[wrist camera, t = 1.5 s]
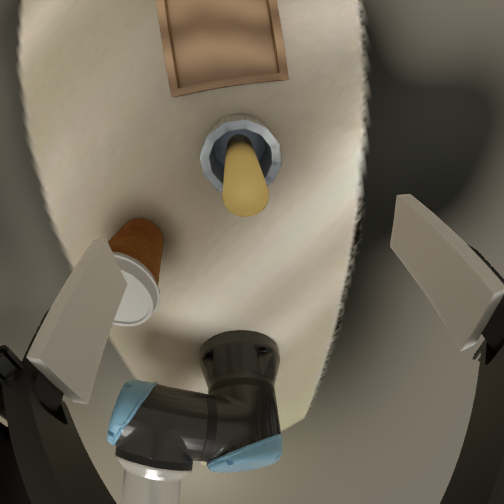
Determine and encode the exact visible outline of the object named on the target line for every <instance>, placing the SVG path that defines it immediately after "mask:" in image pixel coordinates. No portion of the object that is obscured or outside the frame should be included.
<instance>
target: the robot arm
mask: <svg viewBox="0 0 504 504" xmlns="http://www.w3.org/2000/svg"><path fill="white" fill-rule="evenodd" d="M390 247H391V248H392V250H393V251H394V252H395V253H396V255H397V256H398V257H399V259H400V260H401V261H402V263H403V264H404V265H405V266H406V268H407V269H408V271H409V272H410V274H411V275H412V276H413V278H414V279H415V281H416V282H417V283H418V285H419V286H420V288H421V289H422V290H423V292H424V293H425V295H426V296H427V298H428V299H429V301H430V302H431V304H432V305H433V307H434V308H435V310H436V311H437V313H438V314H439V316H440V317H441V319H442V321H443V322H444V324H445V325H446V327H447V329H448V330H449V332H450V334H451V335H452V337H453V339H454V340H455V342H456V344H457V345H458V347H459V349H460V351H462V350H464V349H466V348H469V347H471V346H473V345H475V343H476V341H477V340H478V338H479V337H480V335H481V334H482V335H483V336H484V338H485V340H484V341H483V343H482V344H481V346H480V347H479V349H478V350H477V351H476V353H475V354H474V357H473V359H476V358H477V356H478V355H479V354H480V353H481V357H480V358H479V361H480V366H479V374H478V381H477V387H476V393H475V398H474V403H473V408H472V413H471V417H470V421H469V425H468V429H467V432H466V436H465V440H464V443H463V446H462V449H461V452H460V455H459V459H458V461H457V464H456V467H455V470H454V472H453V475H452V477H451V480H450V482H449V485H448V487H447V490H446V492H445V494H444V496H443V498H442V500H441V503H440V504H504V279H503V278H502V277H501V276H500V275H499V273H498V272H497V271H496V270H495V269H494V268H493V267H491V265H490V263H489V262H488V261H487V260H485V259H484V257H483V256H482V255H481V254H480V253H479V252H478V251H477V250H476V249H474V248H473V247H471V246H469V245H468V244H466V243H465V242H464V241H463V240H462V239H461V238H460V237H459V236H458V235H457V234H456V233H454V232H453V231H452V230H451V229H450V228H449V227H448V226H447V225H446V224H445V223H444V222H443V221H441V220H440V219H439V218H438V217H437V216H436V215H435V214H434V213H432V212H431V211H430V210H429V209H428V208H427V207H425V206H424V205H423V204H422V203H420V202H419V201H418V200H417V199H415V198H414V197H413V196H412V195H411V194H405V195H397V199H396V207H395V216H394V223H393V230H392V236H391V243H390ZM127 285H128V284H127V282H126V280H125V278H124V276H123V274H122V272H121V270H120V268H119V266H118V263H117V261H116V259H115V257H114V255H113V253H112V250H111V248H110V246H109V243H108V241H107V239H106V238H104V239H99V240H94V241H93V242H92V243H91V245H90V246H89V247H88V249H87V250H86V252H85V253H84V255H83V256H82V258H81V259H80V261H79V262H78V264H77V265H76V267H75V268H74V270H73V271H72V273H71V275H70V276H69V278H68V279H67V281H66V283H65V285H64V286H63V288H62V289H61V291H60V293H59V294H58V296H57V298H56V300H55V302H54V303H53V305H52V307H51V308H50V309H49V310H48V311H47V312H46V314H45V315H44V317H43V319H42V321H41V323H40V326H39V327H38V329H37V331H36V333H35V335H34V337H33V339H32V341H31V343H30V345H29V347H28V350H27V351H26V354H25V356H24V358H23V360H22V362H21V361H20V360H19V359H18V357H17V356H16V355H15V354H14V353H13V352H12V351H11V350H10V349H9V347H7V346H6V345H2V346H0V416H1V417H3V418H4V419H6V420H7V422H8V427H6V426H5V425H3V424H2V423H1V422H0V504H116V502H115V501H114V499H113V497H112V496H111V494H110V493H109V491H108V490H107V488H106V486H105V485H104V483H103V481H102V480H101V478H100V476H99V474H98V473H97V470H96V469H95V467H94V465H93V463H92V461H91V460H90V457H89V455H88V453H87V451H86V449H85V447H84V445H83V443H82V441H81V439H80V436H79V434H78V432H77V429H76V427H75V425H74V422H73V420H72V417H71V415H70V412H69V410H68V407H67V405H66V403H65V402H64V401H63V400H62V398H63V395H64V394H65V395H66V396H67V397H68V398H69V399H71V400H72V401H73V402H77V403H83V404H88V403H89V399H90V395H91V391H92V387H93V384H94V380H95V376H96V373H97V370H98V367H99V363H100V360H101V357H102V354H103V351H104V348H105V345H106V342H107V339H108V336H109V333H110V330H111V327H112V324H113V321H114V319H115V316H116V313H117V311H118V308H119V305H120V303H121V300H122V297H123V295H124V292H125V290H126V287H127ZM279 362H280V357H279V351H278V347H277V345H276V343H275V342H274V341H273V340H272V339H270V338H268V337H267V336H265V335H262V334H259V333H255V332H249V331H234V332H227V333H223V334H220V335H217V336H215V337H213V338H211V339H209V340H208V341H207V342H206V343H205V344H204V345H203V346H202V348H201V352H200V365H201V368H202V371H203V374H204V377H205V380H206V383H207V386H208V394H204V393H198V392H193V391H187V390H182V389H177V388H172V387H167V386H163V385H159V384H158V383H157V382H154V383H151V382H146V381H141V380H136V379H132V380H129V381H127V382H126V383H125V384H124V386H123V387H122V389H121V391H120V393H119V396H118V398H117V401H116V404H115V406H114V409H113V412H112V416H111V419H110V423H109V429H108V434H107V441H108V442H109V443H111V444H112V445H114V446H115V445H116V453H115V457H116V458H117V459H118V460H119V462H120V463H121V464H122V465H123V467H124V476H123V490H122V504H179V502H180V485H181V479H182V478H183V477H185V476H186V475H188V474H189V473H191V472H192V464H193V460H195V461H205V462H207V466H208V469H209V470H210V471H213V472H238V471H246V470H252V469H256V468H260V467H264V466H267V465H270V464H273V463H275V462H276V461H278V460H279V459H280V457H281V455H282V434H281V430H280V423H279V417H278V410H277V403H276V396H275V390H274V384H275V380H276V376H277V371H278V367H279Z"/></svg>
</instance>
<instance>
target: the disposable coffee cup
mask: <svg viewBox="0 0 504 504" xmlns="http://www.w3.org/2000/svg"><path fill="white" fill-rule="evenodd" d="M108 243H109V246H110V248H111V250H112V253H113V255H114V257H115V259H116V261H117V263H118V266H119V268H120V270H121V272H122V274H123V276H124V278H125V280H126V282H127V284H128V285H127V287H126V290H125V292H124V295H123V297H122V300H121V303H120V305H119V308H118V311H117V313H116V316H115V319H114V321H113V324H114V325H118V326H126V327H130V326H137V325H140V324H142V323H144V322H145V321H147V320H148V319H149V318H150V316H151V315H153V314H154V313H155V311H156V310H157V308H158V305H159V302H160V293H159V289H158V281H159V272H160V265H161V256H162V250H163V243H164V240H163V235H162V233H161V231H160V229H159V228H158V227H157V226H156V225H155V224H153V223H152V222H150V221H148V220H145V219H133V220H130V221H128V222H127V223H126V224H125V225H124V226H123V227H122V228H121V229H120V230H119V231H118V232H117V233H116V234H115V235H114V236H113V237H112V238H111V239H110V240H109V241H108Z"/></svg>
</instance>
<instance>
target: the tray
mask: <svg viewBox="0 0 504 504" xmlns="http://www.w3.org/2000/svg"><path fill="white" fill-rule="evenodd" d="M156 1H157V9H158V17H159V24H160V31H161V37H162V44H163V50H164V56H165V62H166V68H167V74H168V80H169V85H170V91H171V96H172V97H177V96H181V95H186V94H190V93H195V92H200V91H205V90H210V89H216V88H222V87H228V86H235V85H242V84H249V83H258V82H268V81H280V80H288V71H287V64H286V56H285V49H284V43H283V36H282V30H281V24H280V18H279V12H278V6H277V1H276V0H156Z"/></svg>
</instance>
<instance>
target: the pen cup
mask: <svg viewBox="0 0 504 504" xmlns="http://www.w3.org/2000/svg"><path fill="white" fill-rule="evenodd" d="M237 134H242V135H245V136H247V137H248V138H249V139H250V141H251V143H252V146H253V148H254V151H255V154H256V157H257V159H258V162H259V165H260V168H261V170H262V173H263V176H264V179H265V182H266V185H267V186H268V185H269V184H271V183H272V182H273V181H274V179H275V177H276V174H277V172H278V170H279V168H280V166H281V155H280V145H279V143H278V142H277V140H276V139H275V138H274V136H273V135H272V134H271V132H270V131H269V130H268V129H267V127H266V126H265V125H264V124H263V123H262V122H261V121H260V120H258V119H256V118H254V117H251V116H248V115H245V114H236V115H230V116H227V117H225V118H223V119H222V120H220V121H219V122H218V123H216V124H215V125H214V126H213V127H212V128H211V130H210V132H209V134H208V136H207V138H206V140H205V143H204V146H203V148H202V151H201V154H200V160H201V165H202V170H203V174H204V176H205V178H206V179H207V180H208V181H209V182H210V183H211V184H212V185H213V186H214V187H215V188H216V189H217V190H218V191H221V192H223V182H224V169H225V157H226V146H227V142H228V140H229V139H230V138H231V137H232V136H234V135H237Z"/></svg>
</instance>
